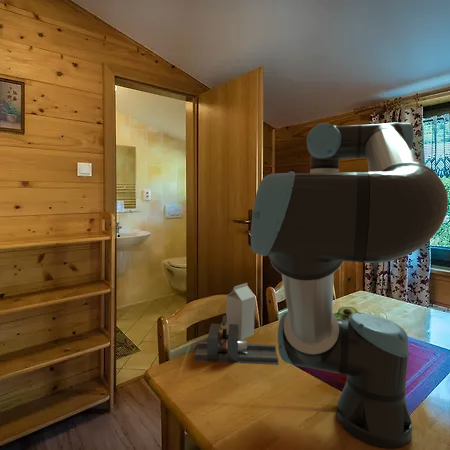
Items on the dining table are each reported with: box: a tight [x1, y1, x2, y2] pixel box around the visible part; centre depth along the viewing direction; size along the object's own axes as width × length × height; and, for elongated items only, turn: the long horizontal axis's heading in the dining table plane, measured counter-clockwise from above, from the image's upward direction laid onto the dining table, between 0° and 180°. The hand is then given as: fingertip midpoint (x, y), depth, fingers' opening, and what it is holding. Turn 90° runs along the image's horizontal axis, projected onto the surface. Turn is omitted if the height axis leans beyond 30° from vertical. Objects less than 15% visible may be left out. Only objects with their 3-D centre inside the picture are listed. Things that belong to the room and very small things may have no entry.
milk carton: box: [225, 282, 256, 341], centre depth 111 cm, size 7×7×19 cm
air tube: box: [218, 338, 248, 353], centre depth 99 cm, size 12×4×4 cm, turn 87°
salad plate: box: [332, 306, 360, 320], centre depth 125 cm, size 19×18×5 cm
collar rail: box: [193, 314, 280, 366], centre depth 98 cm, size 12×25×11 cm, turn 87°
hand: (320, 270), depth 88 cm, fingers closed
